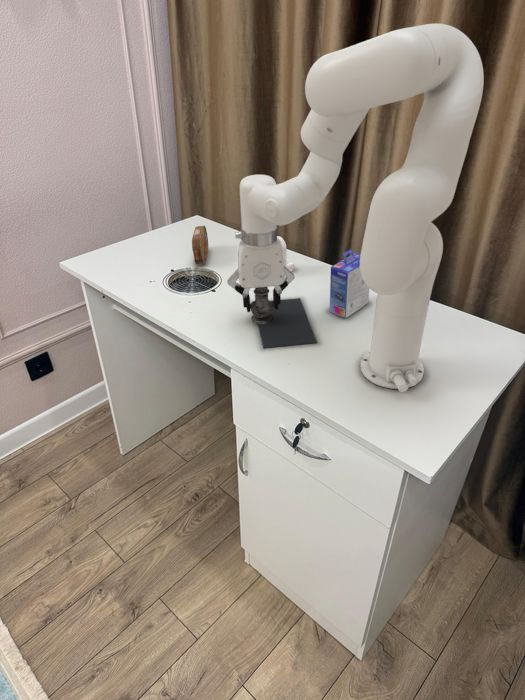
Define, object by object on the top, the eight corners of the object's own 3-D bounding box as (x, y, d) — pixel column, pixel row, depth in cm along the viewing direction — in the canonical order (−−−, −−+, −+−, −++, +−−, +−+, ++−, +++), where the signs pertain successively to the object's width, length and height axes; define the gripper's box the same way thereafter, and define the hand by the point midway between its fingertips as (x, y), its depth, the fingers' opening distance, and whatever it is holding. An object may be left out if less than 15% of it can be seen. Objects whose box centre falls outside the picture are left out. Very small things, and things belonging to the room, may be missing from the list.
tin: (204, 269, 145) (201, 241, 140) (193, 269, 145) (190, 241, 140) (209, 247, 157) (207, 221, 152) (199, 247, 157) (196, 221, 152)
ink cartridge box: (350, 296, 130) (355, 243, 122) (369, 303, 127) (375, 249, 119) (327, 311, 124) (330, 256, 116) (345, 319, 121) (350, 263, 113)
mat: (316, 343, 113) (317, 342, 113) (263, 348, 112) (263, 347, 112) (300, 299, 130) (300, 298, 129) (253, 303, 128) (253, 302, 128)
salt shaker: (272, 326, 119) (271, 279, 112) (247, 324, 120) (245, 278, 113) (276, 313, 123) (275, 268, 117) (252, 311, 125) (250, 266, 118)
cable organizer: (294, 270, 143) (295, 236, 137) (267, 281, 138) (266, 246, 132) (282, 263, 146) (282, 230, 140) (255, 274, 141) (254, 240, 136)
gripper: (220, 245, 106) (226, 319, 116) (302, 239, 107) (301, 312, 118) (218, 232, 112) (224, 303, 122) (295, 226, 113) (295, 297, 124)
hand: (262, 307), depth 120 cm, fingers closed on salt shaker, 5 cm apart
